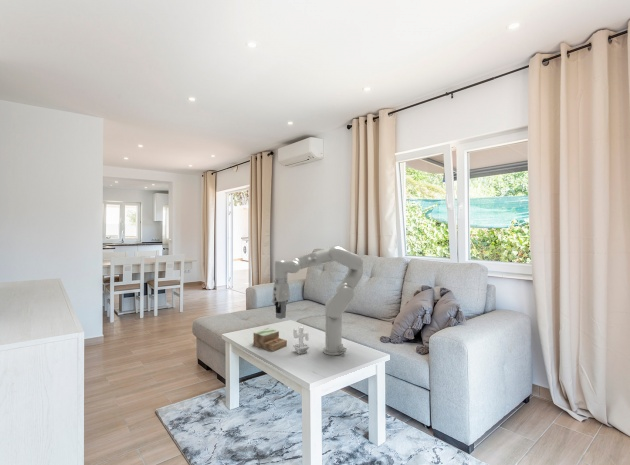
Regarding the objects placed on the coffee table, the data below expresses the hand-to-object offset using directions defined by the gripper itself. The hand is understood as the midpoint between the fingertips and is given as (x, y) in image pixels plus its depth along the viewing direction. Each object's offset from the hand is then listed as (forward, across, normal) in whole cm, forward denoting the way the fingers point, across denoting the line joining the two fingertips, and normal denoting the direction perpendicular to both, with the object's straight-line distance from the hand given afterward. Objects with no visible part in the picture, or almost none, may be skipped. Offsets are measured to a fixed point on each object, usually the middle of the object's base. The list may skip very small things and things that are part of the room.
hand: (280, 311), depth 196 cm
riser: (+23, +3, +12) cm, 27 cm away
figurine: (+23, +7, -10) cm, 26 cm away
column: (+3, 0, 0) cm, 3 cm away
